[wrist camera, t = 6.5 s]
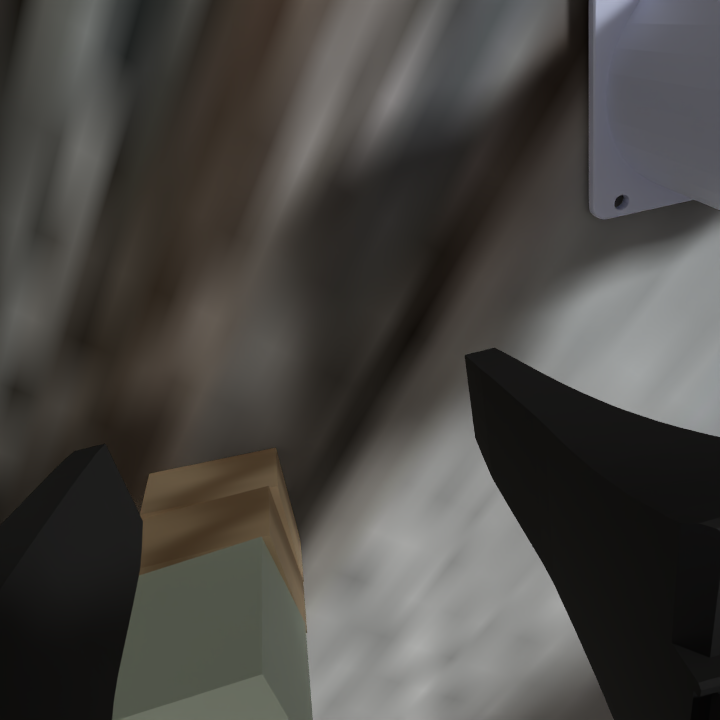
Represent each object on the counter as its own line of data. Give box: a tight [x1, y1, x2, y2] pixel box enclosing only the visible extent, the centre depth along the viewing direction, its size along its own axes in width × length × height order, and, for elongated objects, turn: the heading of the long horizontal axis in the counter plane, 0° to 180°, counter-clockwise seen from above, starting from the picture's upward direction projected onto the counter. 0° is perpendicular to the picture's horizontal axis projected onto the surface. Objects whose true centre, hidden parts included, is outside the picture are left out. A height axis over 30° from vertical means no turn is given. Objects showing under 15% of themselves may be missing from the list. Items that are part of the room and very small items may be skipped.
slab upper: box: [139, 486, 307, 633], centre depth 23 cm, size 5×5×2 cm
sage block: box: [112, 537, 313, 720], centre depth 20 cm, size 4×4×5 cm
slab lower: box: [140, 448, 304, 582], centre depth 25 cm, size 5×5×2 cm
